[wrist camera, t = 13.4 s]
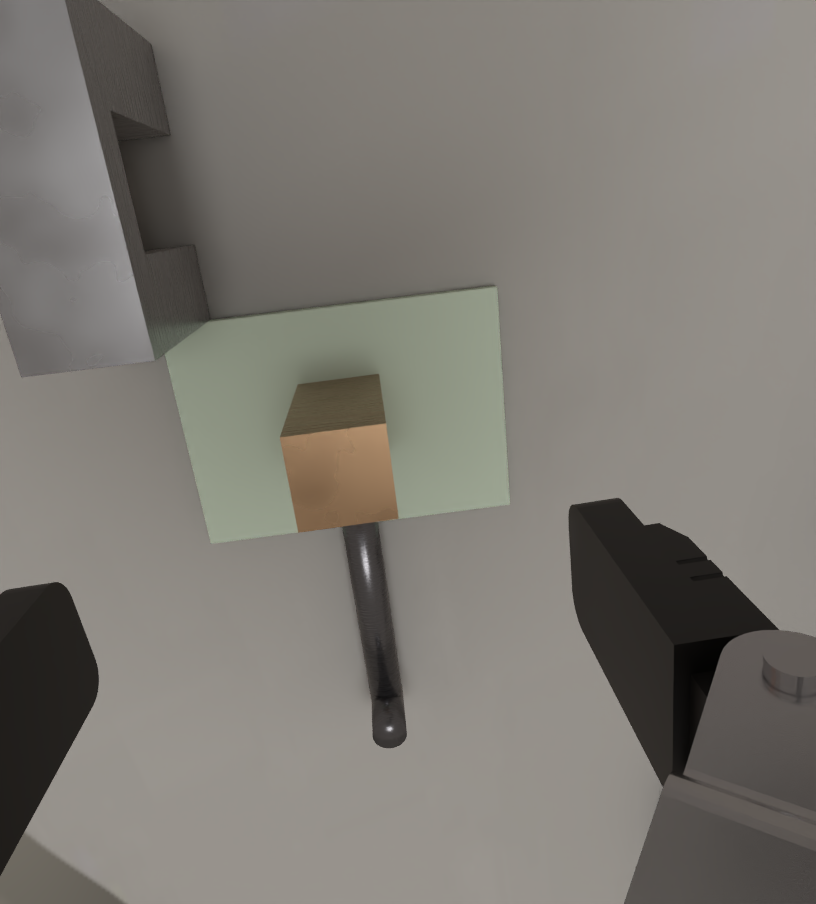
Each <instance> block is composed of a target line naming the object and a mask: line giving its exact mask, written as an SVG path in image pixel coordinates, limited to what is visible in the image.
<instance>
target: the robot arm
mask: <svg viewBox="0 0 816 904" xmlns="http://www.w3.org/2000/svg"><path fill="white" fill-rule="evenodd" d="M569 538H570V556H571V575H572V592H573V599H574V605H575V610H576V614H577V617H578V620H579V623H580V626H581V629H582V631H583V633H584V635H585V637H586V639H587V641H588V642H589V644H590V646H591V648H592V650H593V652H594V654H595V656H596V658H597V660H598V662H599V664H600V666H601V668H602V670H603V672H604V674H605V675H606V677H607V679H608V681H609V683H610V685H611V687H612V689H613V691H614V693H615V695H616V697H617V699H618V701H619V703H620V705H621V707H622V708H623V710H624V712H625V714H626V716H627V718H628V720H629V722H630V724H631V726H632V728H633V730H634V732H635V734H636V736H637V738H638V740H639V741H640V743H641V745H642V747H643V749H644V751H645V753H646V755H647V757H648V759H649V761H650V763H651V765H652V767H653V769H654V771H655V773H656V774H657V776H658V778H659V780H660V782H661V784H662V786H663V789H662V792H661V795H660V798H659V801H658V804H657V807H656V810H655V813H654V816H653V819H652V822H651V825H650V827H649V830H648V833H647V836H646V839H645V842H644V845H643V848H642V851H641V854H640V857H639V860H638V863H637V866H636V869H635V872H634V875H633V878H632V881H631V884H630V887H629V890H628V893H627V896H626V899H625V902H624V904H816V637H813V636H809V635H806V634H802V633H797V632H791V631H782V630H779V629H778V628H777V627H776V626H775V625H774V624H773V623H772V622H771V621H770V620H769V619H768V618H767V617H766V616H765V615H764V614H763V613H762V612H761V611H760V610H759V609H758V608H757V607H756V606H755V605H754V604H753V603H752V602H751V601H750V600H749V599H748V598H747V597H746V596H745V595H744V594H743V593H742V592H741V591H740V590H739V589H738V587H737V586H736V585H735V584H734V583H733V582H732V581H731V580H730V579H729V578H728V577H727V576H725V577H724V576H723V573H722V571H721V570H720V569H719V568H718V567H717V566H716V565H715V564H714V563H713V562H712V561H711V560H707V556H706V555H705V554H704V553H703V552H702V551H701V550H700V549H699V548H698V547H697V546H696V545H695V544H694V543H693V542H692V541H691V540H690V539H689V538H688V537H687V536H685V535H682V534H680V533H678V532H676V531H674V530H672V529H670V528H668V527H666V526H664V525H662V524H660V523H657V524H651V525H643V524H642V523H641V521H640V520H639V519H638V518H637V517H636V516H635V515H634V513H633V512H632V511H631V510H630V509H629V508H628V507H627V505H626V504H625V503H624V502H623V501H622V500H621V499H619V498H614V499H608V500H601V501H595V502H588V503H581V504H575V505H571V507H570V509H569ZM98 684H99V675H98V667H97V663H96V660H95V657H94V655H93V652H92V649H91V647H90V644H89V641H88V639H87V636H86V634H85V631H84V628H83V626H82V623H81V620H80V618H79V615H78V612H77V610H76V607H75V604H74V602H73V599H72V597H71V594H70V592H69V591H68V589H67V588H66V587H65V586H64V585H63V584H61V583H58V582H54V583H48V584H41V585H34V586H28V587H21V588H15V589H9V590H6V591H4V592H3V593H1V594H0V875H1V874H2V872H3V870H4V868H5V866H6V864H7V863H8V861H9V859H10V857H11V855H12V853H13V852H14V850H15V848H16V846H17V844H18V842H19V840H20V838H21V837H22V835H23V833H24V831H25V829H26V828H27V826H28V824H29V822H30V820H31V818H32V817H33V815H34V813H35V811H36V809H37V807H38V806H39V804H40V802H41V800H42V798H43V796H44V795H45V793H46V791H47V789H48V787H49V785H50V784H51V782H52V780H53V778H54V776H55V774H56V773H57V771H58V769H59V767H60V765H61V763H62V762H63V760H64V758H65V756H66V754H67V752H68V751H69V749H70V747H71V745H72V743H73V741H74V740H75V738H76V736H77V734H78V732H79V730H80V729H81V727H82V725H83V723H84V721H85V719H86V718H87V716H88V714H89V712H90V710H91V708H92V707H93V705H94V702H95V700H96V697H97V692H98Z"/></svg>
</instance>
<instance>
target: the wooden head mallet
mask: <svg viewBox="0 0 816 904" xmlns="http://www.w3.org/2000/svg"><path fill="white" fill-rule="evenodd" d="M280 442H281V447H282V452H283V457H284V462H285V468H286V473H287V478H288V483H289V488H290V493H291V498H292V503H293V508H294V514H295V519H296V524H297V529H298V533H299V532H306V531H313V530H321V529H328V528H335V527H342V528H343V534H344V539H345V545H346V551H347V557H348V563H349V569H350V575H351V581H352V587H353V593H354V599H355V605H356V611H357V617H358V623H359V629H360V635H361V641H362V647H363V653H364V659H365V664H366V670H367V676H368V682H369V688H370V694H371V700H372V727H373V739H374V741H375V743H376V744H377V745H379V746H381V747H384V748H394V747H397V746H399V745H401V744H402V743H403V742H404V741H405V739H406V736H407V731H406V721H405V711H404V700H403V690H402V684H401V679H400V672H399V665H398V658H397V651H396V644H395V638H394V631H393V624H392V617H391V610H390V603H389V596H388V590H387V583H386V576H385V569H384V562H383V555H382V549H381V542H380V535H379V528H378V522H379V521H386V520H394V519H399V517H398V509H397V502H396V494H395V487H394V479H393V472H392V464H391V457H390V449H389V442H388V434H387V427H386V419H385V412H384V405H383V398H382V391H381V384H380V377H379V374H373V375H365V376H358V377H350V378H342V379H335V380H327V381H319V382H312V383H304V384H298V385H297V388H296V391H295V394H294V397H293V400H292V403H291V405H290V408H289V411H288V414H287V417H286V420H285V423H284V426H283V429H282V432H281V435H280Z"/></svg>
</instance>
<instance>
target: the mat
mask: <svg viewBox="0 0 816 904" xmlns="http://www.w3.org/2000/svg"><path fill="white" fill-rule="evenodd" d="M165 358H166V362H167V366H168V370H169V374H170V378H171V382H172V386H173V390H174V394H175V399H176V403H177V407H178V411H179V415H180V419H181V423H182V427H183V431H184V435H185V440H186V444H187V448H188V452H189V456H190V460H191V464H192V468H193V472H194V476H195V480H196V485H197V489H198V493H199V497H200V501H201V505H202V509H203V513H204V517H205V521H206V526H207V530H208V534H209V538H210V542H211V544H214V543H222V542H229V541H237V540H245V539H252V538H260V537H267V536H275V535H282V534H290V533H298V529H297V524H296V519H295V514H294V508H293V503H292V498H291V493H290V488H289V483H288V478H287V473H286V468H285V462H284V457H283V452H282V447H281V442H280V435H281V432H282V429H283V426H284V423H285V420H286V417H287V414H288V411H289V408H290V405H291V403H292V400H293V397H294V394H295V391H296V388H297V385H298V384H304V383H312V382H319V381H327V380H335V379H342V378H350V377H358V376H365V375H373V374H379V377H380V384H381V391H382V398H383V405H384V412H385V419H386V427H387V434H388V442H389V449H390V457H391V464H392V472H393V479H394V487H395V494H396V502H397V509H398V517H399V519H404V518H411V517H419V516H426V515H434V514H441V513H449V512H457V511H464V510H472V509H479V508H487V507H494V506H502V505H510V496H509V479H508V462H507V445H506V428H505V411H504V394H503V377H502V360H501V343H500V326H499V310H498V293H497V287H496V286H486V287H477V288H469V289H461V290H453V291H444V292H436V293H428V294H420V295H411V296H403V297H395V298H387V299H378V300H370V301H362V302H354V303H345V304H337V305H329V306H321V307H312V308H304V309H296V310H288V311H279V312H271V313H263V314H254V315H246V316H238V317H230V318H221V319H213V320H210V321H208V322H207V323H206V324H204V325H203V326H201V327H200V328H199V329H197V330H196V331H195V332H193V333H192V334H191V335H189V336H188V337H187V338H185V339H184V340H183V341H181V342H180V343H178V344H177V345H176V346H174V347H173V348H172V349H170V350H169V351H168V352H166V353H165ZM394 520H396V519H394ZM386 521H388V520H386ZM379 522H381V521H379Z"/></svg>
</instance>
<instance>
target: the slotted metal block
mask: <svg viewBox="0 0 816 904" xmlns="http://www.w3.org/2000/svg"><path fill="white" fill-rule="evenodd" d="M168 135H171V134H170V129H169V125H168V120H167V115H166V111H165V106H164V101H163V97H162V92H161V87H160V83H159V78H158V73H157V69H156V64H155V59H154V55H153V50H152V45H151V44H150V43H149V42H148V41H147V40H145V39H144V38H143V37H142V36H141V35H139V34H138V33H137V32H136V31H134V30H133V29H132V28H131V27H130V26H128V25H127V24H126V23H125V22H123V21H122V20H121V19H120V18H119V17H117V16H116V15H115V14H114V13H112V12H111V11H110V10H109V9H108V8H106V7H105V6H104V5H103V4H102V3H100V2H99V1H98V0H0V314H1V317H2V320H3V323H4V326H5V329H6V332H7V335H8V338H9V341H10V344H11V347H12V350H13V353H14V356H15V359H16V362H17V365H18V369H19V372H20V375H21V377H28V376H36V375H44V374H52V373H60V372H68V371H77V370H85V369H93V368H101V367H109V366H117V365H125V364H134V363H142V362H150V361H156V360H157V359H158V358H160V357H161V356H162V355H164V354H165V353H166V352H168V351H169V350H170V349H172V348H173V347H174V346H176V345H177V344H178V343H180V342H181V341H183V340H184V339H185V338H187V337H188V336H189V335H191V334H192V333H193V332H195V331H196V330H197V329H199V328H200V327H201V326H203V325H204V324H206V323H207V322H208V321H210V315H209V311H208V306H207V301H206V297H205V292H204V287H203V283H202V278H201V273H200V269H199V264H198V260H197V255H196V250H195V246H194V245H190V246H181V247H173V248H164V249H156V250H147V251H144V248H143V244H142V240H141V235H140V231H139V227H138V223H137V219H136V215H135V211H134V206H133V202H132V198H131V194H130V190H129V186H128V182H127V177H126V173H125V169H124V165H123V161H122V157H121V153H120V148H119V144H118V141H123V140H132V139H141V138H150V137H159V136H168Z"/></svg>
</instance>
